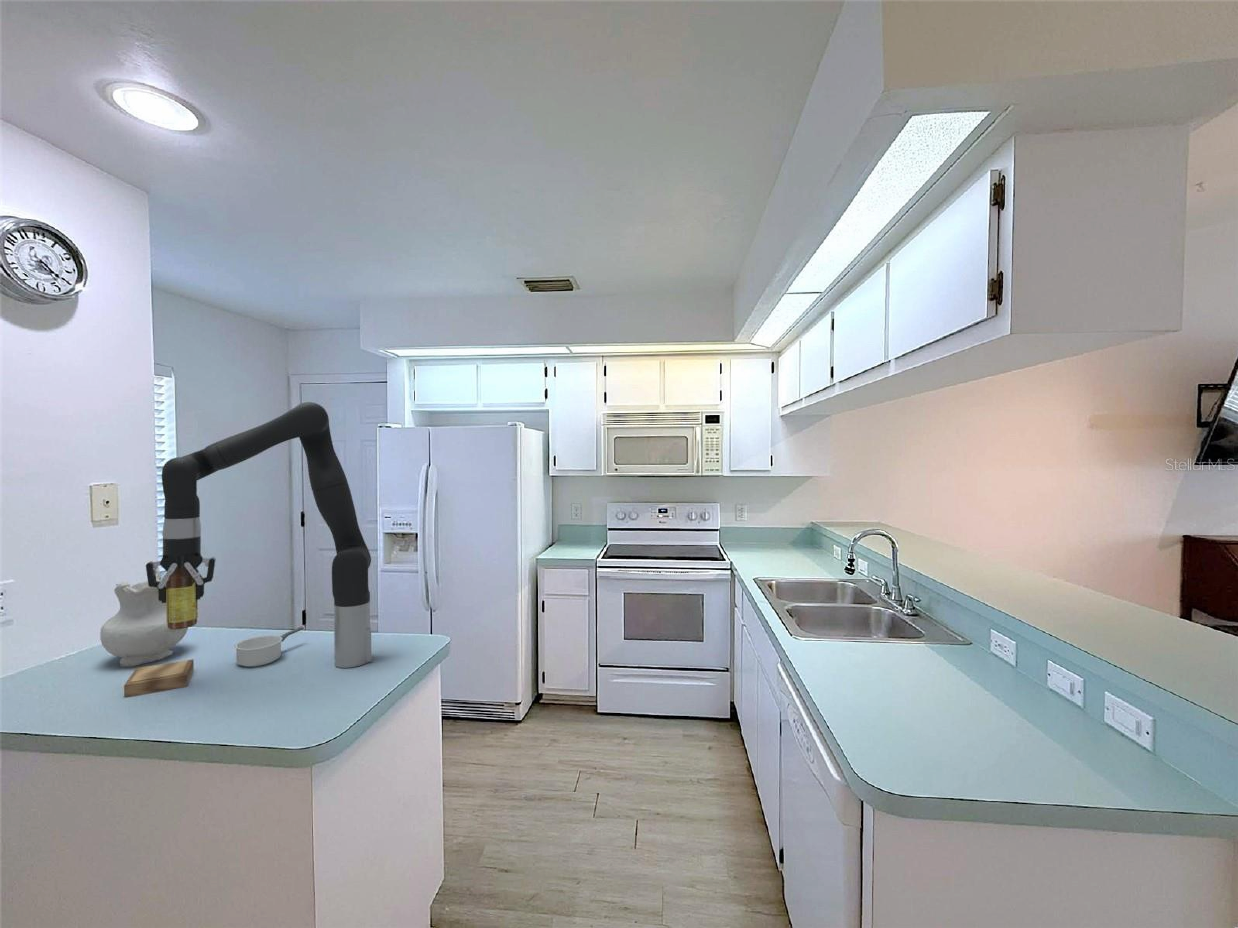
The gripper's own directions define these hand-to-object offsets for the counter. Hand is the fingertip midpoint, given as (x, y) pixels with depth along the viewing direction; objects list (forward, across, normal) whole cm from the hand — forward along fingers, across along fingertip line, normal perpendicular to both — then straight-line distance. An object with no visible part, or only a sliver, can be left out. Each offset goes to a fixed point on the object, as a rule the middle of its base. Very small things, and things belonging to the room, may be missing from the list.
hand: (181, 600), depth 137 cm
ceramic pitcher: (+23, +11, -31) cm, 40 cm away
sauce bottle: (+7, 0, 0) cm, 7 cm away
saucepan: (+22, -20, -13) cm, 33 cm away
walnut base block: (+22, +5, -6) cm, 24 cm away
